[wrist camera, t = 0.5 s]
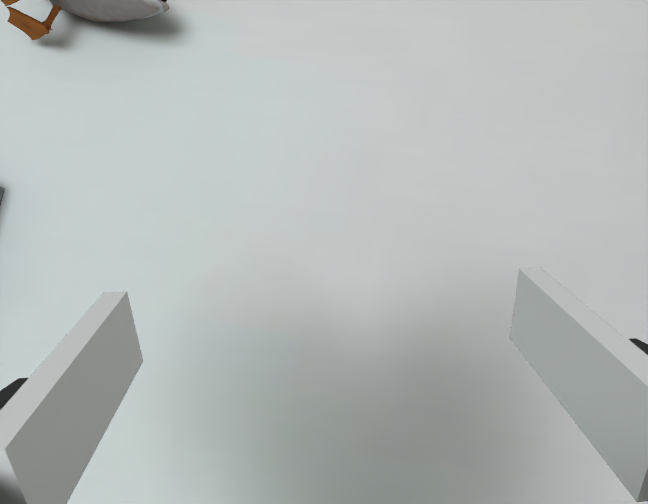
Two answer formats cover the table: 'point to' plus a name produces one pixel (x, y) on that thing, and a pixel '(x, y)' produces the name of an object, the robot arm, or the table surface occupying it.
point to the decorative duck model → (86, 12)
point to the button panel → (1, 193)
